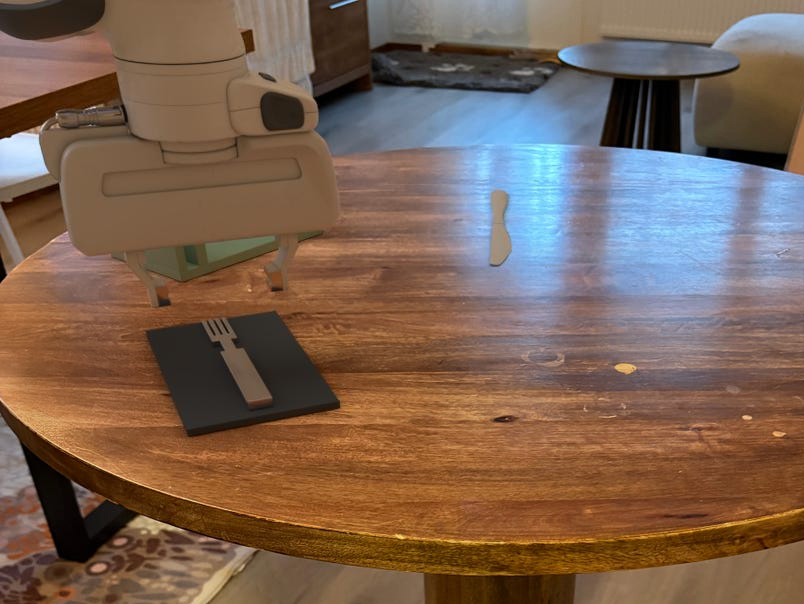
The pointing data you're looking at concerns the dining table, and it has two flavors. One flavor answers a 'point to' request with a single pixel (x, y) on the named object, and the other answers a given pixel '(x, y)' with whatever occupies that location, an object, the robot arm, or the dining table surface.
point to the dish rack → (208, 255)
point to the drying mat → (213, 386)
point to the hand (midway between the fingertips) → (220, 296)
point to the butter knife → (499, 229)
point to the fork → (238, 365)
